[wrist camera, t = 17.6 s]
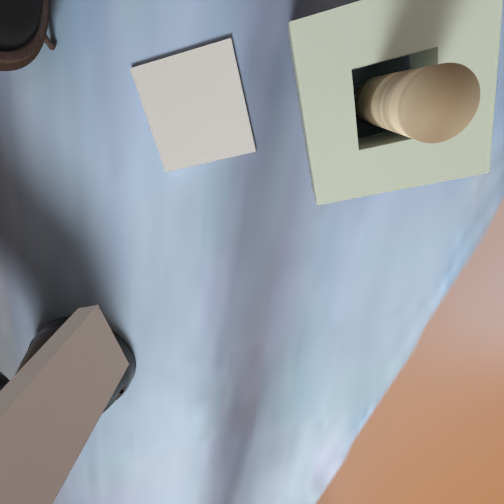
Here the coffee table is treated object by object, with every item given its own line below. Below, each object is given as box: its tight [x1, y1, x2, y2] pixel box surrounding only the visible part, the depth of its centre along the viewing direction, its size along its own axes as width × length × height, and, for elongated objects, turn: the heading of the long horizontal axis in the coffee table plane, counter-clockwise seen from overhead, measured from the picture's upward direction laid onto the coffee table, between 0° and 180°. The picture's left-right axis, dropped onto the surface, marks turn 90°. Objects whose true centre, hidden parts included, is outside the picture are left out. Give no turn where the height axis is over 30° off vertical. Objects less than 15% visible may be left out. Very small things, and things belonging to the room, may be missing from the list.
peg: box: [354, 63, 480, 143], centre depth 24 cm, size 4×4×14 cm
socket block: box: [288, 0, 503, 205], centre depth 27 cm, size 14×14×6 cm
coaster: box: [130, 38, 256, 172], centre depth 32 cm, size 10×10×1 cm
